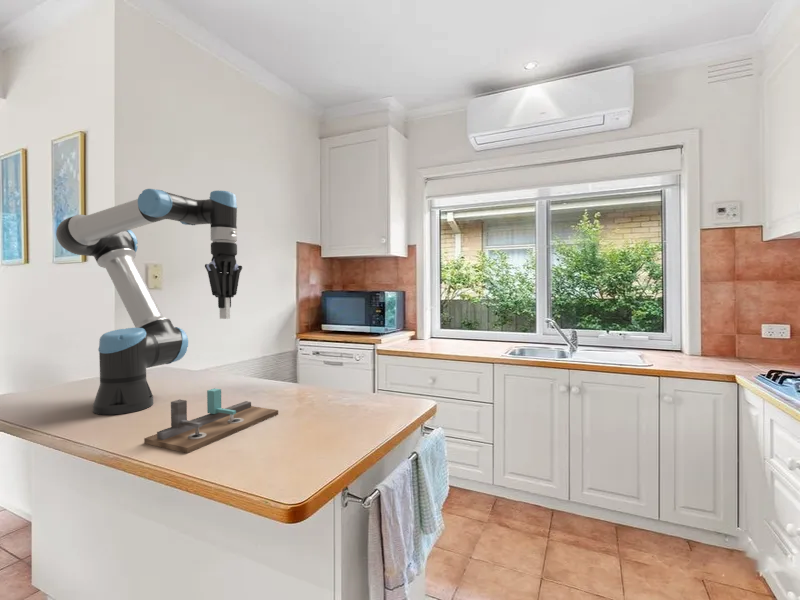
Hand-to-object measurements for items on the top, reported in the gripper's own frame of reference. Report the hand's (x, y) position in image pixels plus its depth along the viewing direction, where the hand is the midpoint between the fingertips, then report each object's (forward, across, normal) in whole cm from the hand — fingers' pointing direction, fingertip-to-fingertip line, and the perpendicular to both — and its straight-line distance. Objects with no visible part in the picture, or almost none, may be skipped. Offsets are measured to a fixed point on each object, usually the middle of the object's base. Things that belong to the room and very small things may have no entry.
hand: (224, 318), depth 129 cm
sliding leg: (+25, -16, -16) cm, 34 cm away
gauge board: (+26, -18, -16) cm, 36 cm away
